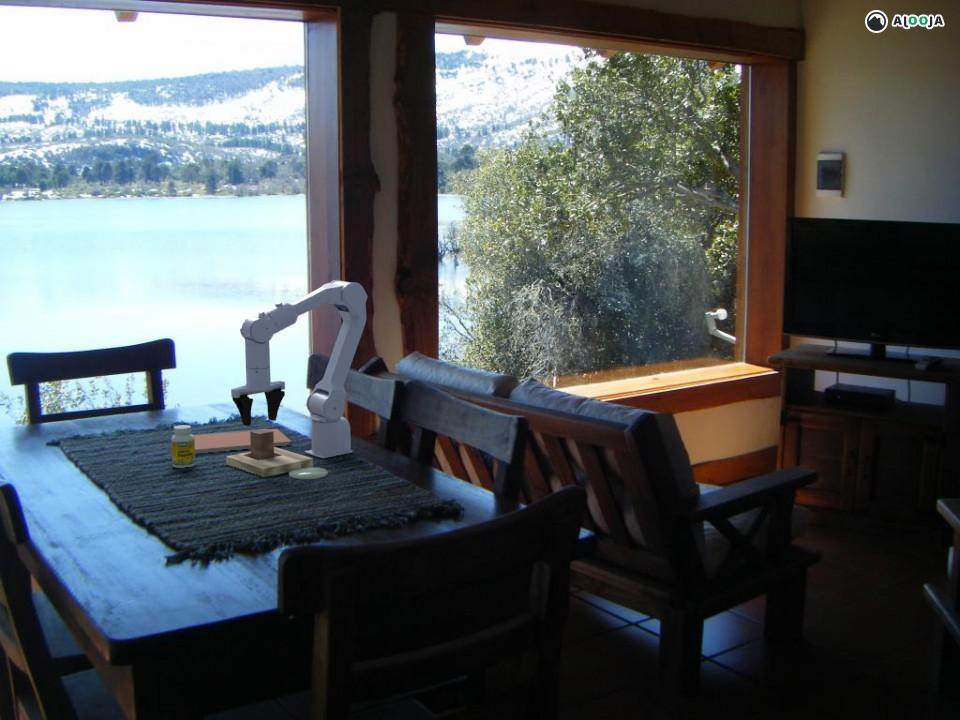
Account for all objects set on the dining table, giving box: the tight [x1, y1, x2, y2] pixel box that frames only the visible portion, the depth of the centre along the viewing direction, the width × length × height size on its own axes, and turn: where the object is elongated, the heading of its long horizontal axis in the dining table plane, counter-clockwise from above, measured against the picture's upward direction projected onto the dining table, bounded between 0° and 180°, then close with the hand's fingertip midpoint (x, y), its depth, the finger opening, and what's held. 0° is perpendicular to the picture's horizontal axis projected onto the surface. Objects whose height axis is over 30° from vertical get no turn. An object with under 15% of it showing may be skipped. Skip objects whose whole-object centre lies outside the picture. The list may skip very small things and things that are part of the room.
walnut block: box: [250, 428, 274, 460], centre depth 255 cm, size 4×4×8 cm
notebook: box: [192, 428, 292, 455], centre depth 275 cm, size 27×17×2 cm, turn 114°
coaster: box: [288, 466, 329, 481], centre depth 246 cm, size 9×9×1 cm
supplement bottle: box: [171, 424, 196, 469], centre depth 252 cm, size 5×5×10 cm
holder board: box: [225, 447, 314, 478], centre depth 253 cm, size 14×16×2 cm
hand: (259, 422), depth 253 cm, fingers open, 7 cm apart
